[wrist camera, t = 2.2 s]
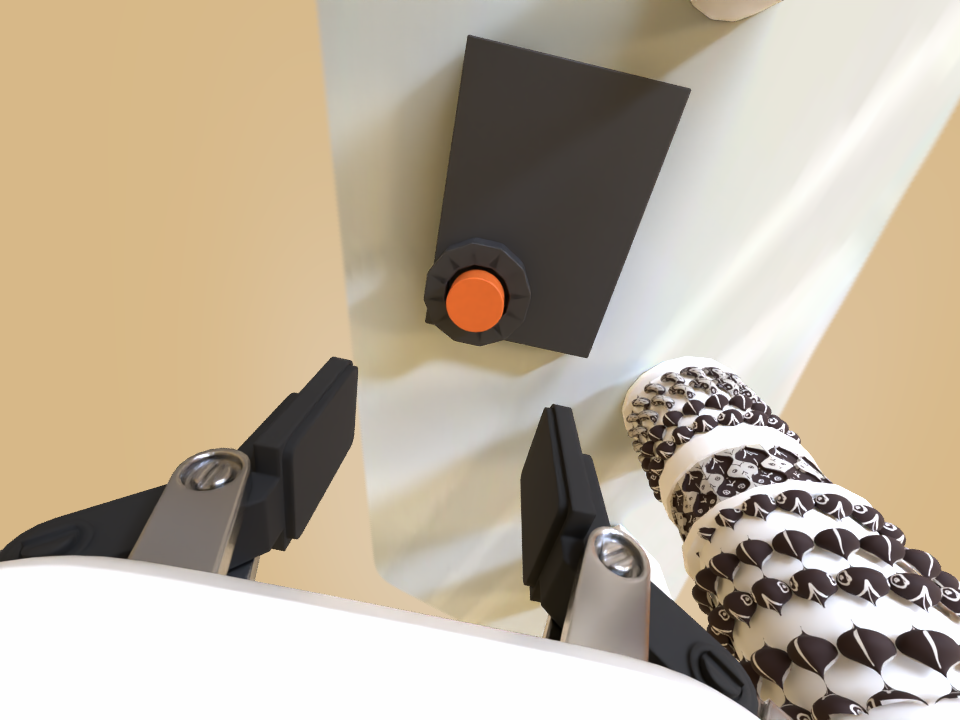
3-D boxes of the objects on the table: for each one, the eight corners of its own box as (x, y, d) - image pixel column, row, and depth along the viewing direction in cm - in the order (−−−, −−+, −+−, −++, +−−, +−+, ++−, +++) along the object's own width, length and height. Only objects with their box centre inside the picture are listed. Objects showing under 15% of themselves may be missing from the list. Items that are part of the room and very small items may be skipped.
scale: (470, 44, 20) (462, 23, 17) (677, 94, 20) (707, 82, 17) (429, 313, 27) (418, 333, 24) (582, 347, 27) (591, 371, 24)
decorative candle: (651, 335, 26) (1390, 1270, 4) (774, 371, 27) (1996, 1362, 5) (596, 435, 30) (818, 1160, 8) (704, 465, 31) (1174, 1216, 9)
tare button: (455, 263, 22) (451, 271, 20) (510, 275, 22) (509, 284, 20) (446, 314, 23) (441, 326, 22) (497, 326, 23) (496, 338, 22)
